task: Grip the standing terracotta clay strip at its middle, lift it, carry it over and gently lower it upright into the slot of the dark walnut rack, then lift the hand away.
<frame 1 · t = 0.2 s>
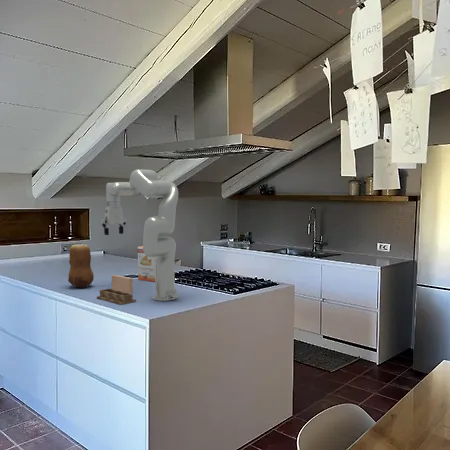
hand: (114, 234, 264), 30 cm above the countertop, tool pointing down, fingers open, 9 cm apart
slot rack: (116, 300, 233), on the countertop
clay strip: (122, 291, 255), on the countertop
cracker box: (149, 280, 285), on the countertop
butternut squash: (81, 287, 265), on the countertop
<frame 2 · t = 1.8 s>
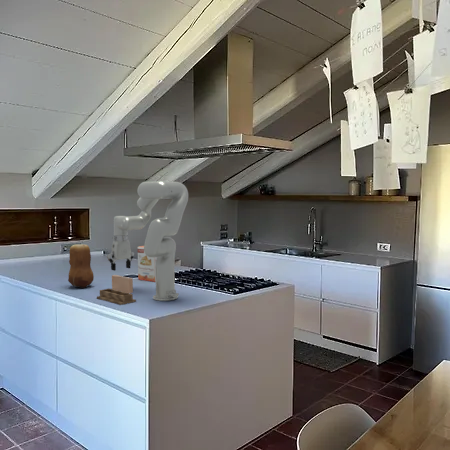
hand: (120, 269, 255), 12 cm above the countertop, tool pointing down, fingers open, 9 cm apart
nothing on the countertop moved.
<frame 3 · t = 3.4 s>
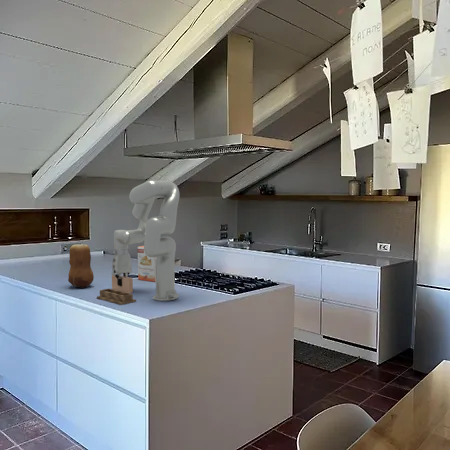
hand: (122, 285, 255), 3 cm above the countertop, tool pointing down, fingers closed on clay strip, 2 cm apart
clay strip: (122, 290, 255), on the countertop, touching gripper
everything else where it was.
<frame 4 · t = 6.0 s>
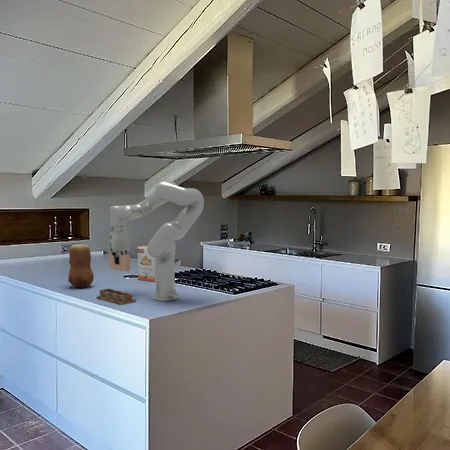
hand: (119, 263, 244), 17 cm above the countertop, tool pointing down, fingers closed on clay strip, 2 cm apart
clay strip: (119, 269, 244), point 14 cm above the countertop, touching gripper
everything else where it was.
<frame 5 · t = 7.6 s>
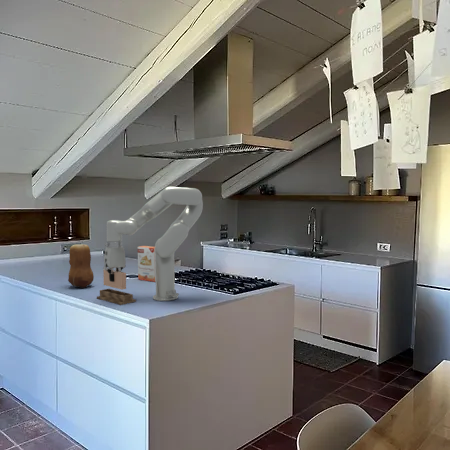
hand: (114, 280, 233), 10 cm above the countertop, tool pointing down, fingers closed on clay strip, 2 cm apart
clay strip: (114, 286, 233), point 7 cm above the countertop, touching gripper
everything else where it was.
when the fingers open (5 cm above the countertop, at t = 8.7 s): clay strip drops 1 cm, resting on slot rack.
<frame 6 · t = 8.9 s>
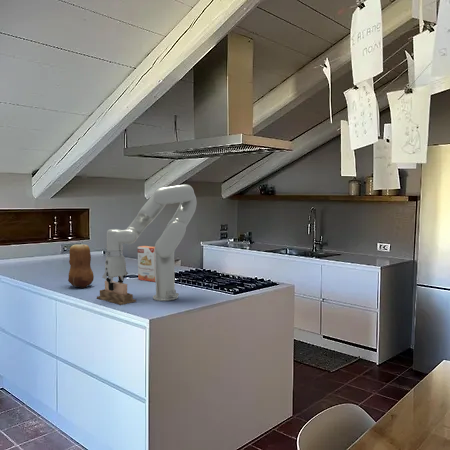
hand: (115, 289, 233), 6 cm above the countertop, tool pointing down, fingers open, 4 cm apart
clay strip: (116, 298, 233), point 1 cm above the countertop, touching slot rack
everything else where it was.
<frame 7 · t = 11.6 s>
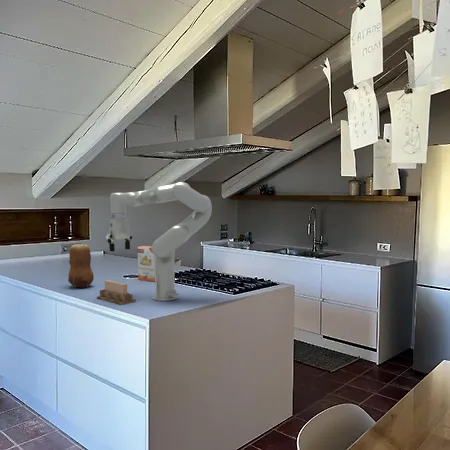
hand: (120, 250, 236), 25 cm above the countertop, tool pointing down, fingers open, 9 cm apart
nothing on the countertop moved.
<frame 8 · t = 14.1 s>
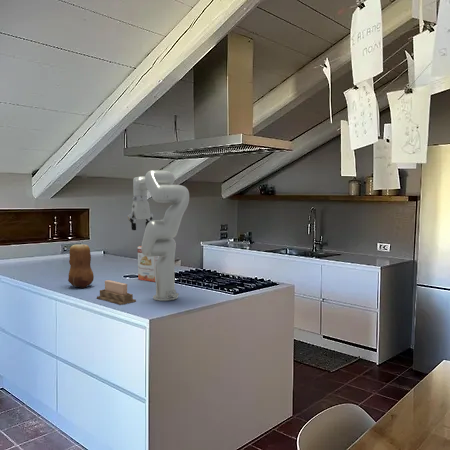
hand: (140, 229, 260), 33 cm above the countertop, tool pointing down, fingers open, 9 cm apart
nothing on the countertop moved.
at the end: clay strip 0.1 cm off-centre on the slot rack, point 1.0 cm above the slot rack's base; clay strip tilted 0°; the gripper is holding nothing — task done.
